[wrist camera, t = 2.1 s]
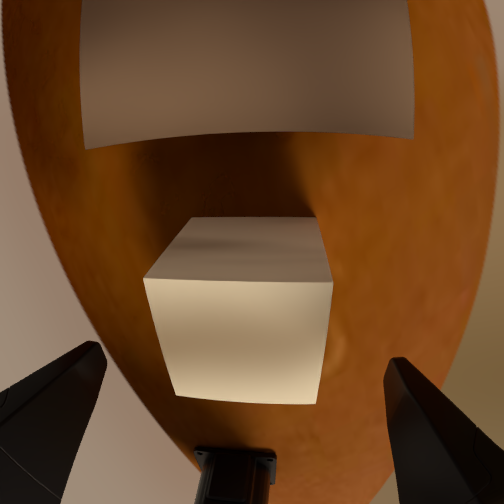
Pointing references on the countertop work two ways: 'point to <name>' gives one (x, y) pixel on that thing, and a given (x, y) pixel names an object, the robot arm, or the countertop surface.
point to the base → (244, 68)
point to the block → (243, 308)
